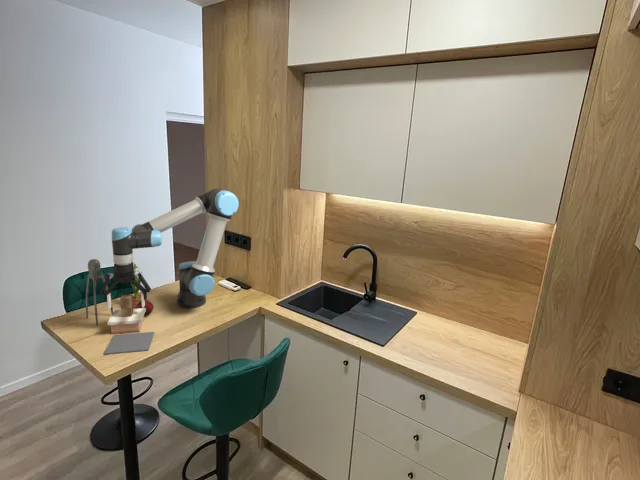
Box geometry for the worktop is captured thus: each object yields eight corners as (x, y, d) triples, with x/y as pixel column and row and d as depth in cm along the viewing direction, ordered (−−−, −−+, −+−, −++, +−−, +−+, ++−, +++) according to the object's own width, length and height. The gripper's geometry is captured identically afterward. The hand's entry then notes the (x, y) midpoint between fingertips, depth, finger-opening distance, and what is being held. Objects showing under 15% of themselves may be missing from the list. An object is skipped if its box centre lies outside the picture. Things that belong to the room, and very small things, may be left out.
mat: (154, 332, 155) (154, 331, 155) (148, 350, 141) (148, 349, 141) (114, 336, 150) (114, 334, 150) (104, 354, 136) (104, 353, 136)
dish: (143, 320, 165) (143, 311, 164) (139, 332, 155) (138, 321, 154) (118, 322, 162) (117, 313, 161) (111, 334, 152) (110, 323, 150)
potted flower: (151, 309, 177) (148, 263, 171) (129, 313, 171) (125, 266, 165) (146, 301, 186) (143, 257, 181) (125, 305, 180) (121, 259, 175)
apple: (137, 312, 173) (136, 298, 171) (154, 311, 176) (153, 296, 174) (135, 319, 166) (134, 304, 164) (153, 317, 169) (152, 302, 167)
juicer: (113, 315, 169) (108, 256, 162) (97, 325, 158) (91, 263, 151) (95, 313, 170) (89, 255, 163) (77, 323, 159) (70, 261, 152)
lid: (146, 312, 165) (144, 290, 163) (140, 324, 153) (139, 301, 151) (115, 314, 161) (113, 291, 159) (107, 327, 149) (105, 303, 147)
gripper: (156, 259, 158) (158, 302, 163) (93, 260, 151) (98, 305, 156) (153, 264, 151) (155, 308, 156) (88, 266, 144) (92, 312, 149)
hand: (126, 307), depth 156 cm, fingers open, 13 cm apart
